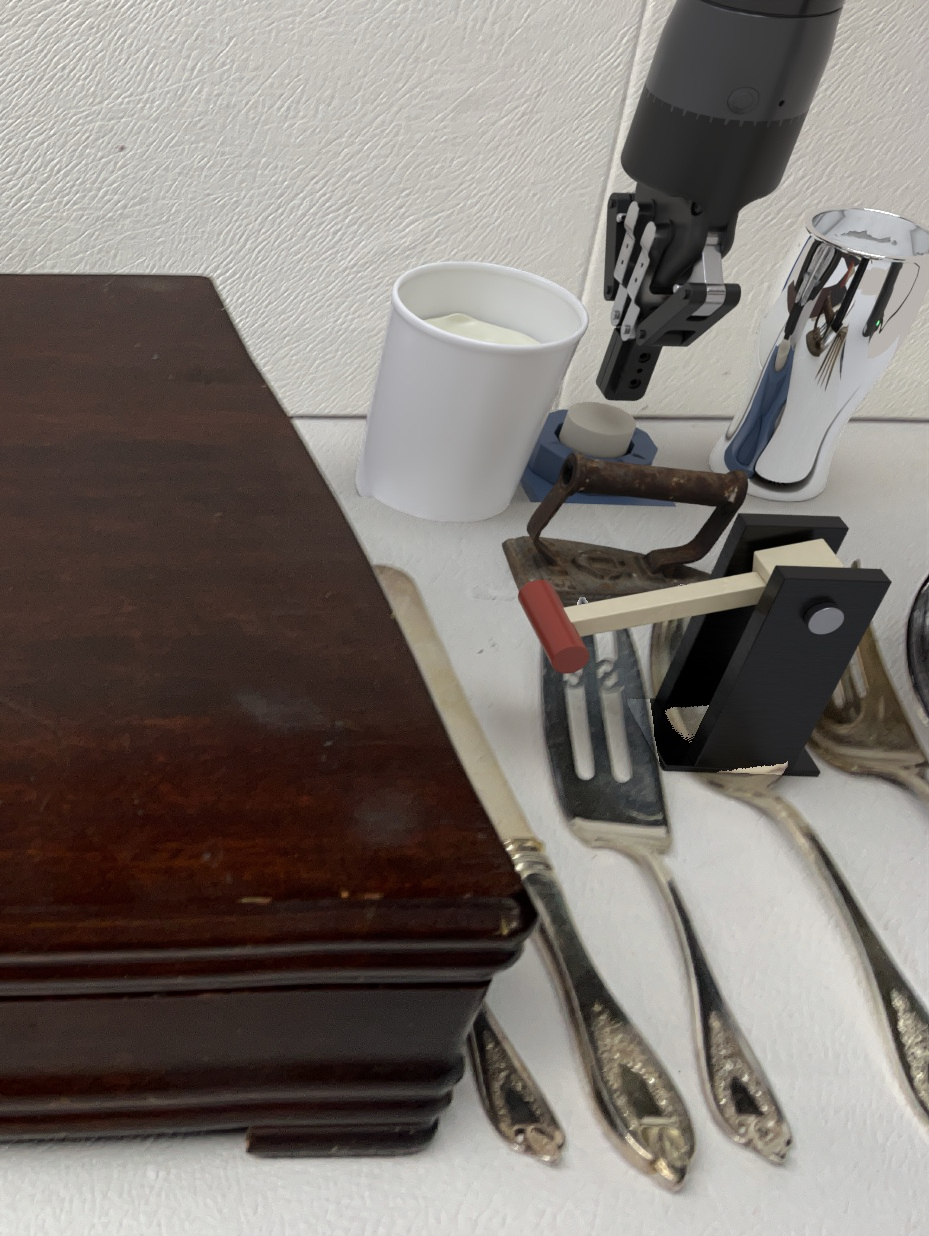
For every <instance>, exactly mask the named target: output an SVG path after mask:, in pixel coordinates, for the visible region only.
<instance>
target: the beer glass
mask: <svg viewBox="0 0 929 1236" xmlns="http://www.w3.org/2000/svg"><path fill="white" fill-rule="evenodd" d="M928 291H929V226H928V224H927V225H926V224H925V223H923V222H921V221H920V220H917V219H915V218H912V217H909V216H906V215H903V214H900V213H898V212H893V211H890V210H886V209H880V208H875V207H868V206H862V205H861V206H860V205H845V204H844V205H842V204H841V205H830V206H829V205H828V206H823V207H819V208H816V209H814V210H812V211H810V212H809V213H808V214H806V216H805V218H804V221H803V223H802V225H801V227H800V230H799V231H798V233H797V235H796V237H795V239H794V240H793V242H792V244H791V246H790V248H789V250H788V253H787V254H786V256H785V257H784V259H783V262H782V263H781V266H780V268H779V270H778V272H777V275H776V277H775V278H774V281H773V283H772V286H771V288H770V290H769V293H768V296H767V298H766V301H765V304H764V307H763V309H762V311H761V316H760V320H759V324H758V326H757V331H756V335H755V339H754V344H753V349H752V354H751V358H750V363H749V368H748V373H747V379H746V382H745V387H744V391H743V395H742V397H741V401H740V404H739V406H738V408H737V410H736V412H735V414H734V416H733V419H732V420H731V422H730V423H729V425H728V427H727V428H726V430H725V431H724V433H723V434H722V436H720V439H718V441H717V443H715V444H716V445H715V446H714V447H713V449H712V451H711V452H710V455H709V457H708V465H709V468H710V470H711V472H714V473H724V474H726V473H728V472H730V471H732V470H743V471H744V472H746V473H747V476H748V490H747V495H749V496H753V497H755V498H759V499H764V500H769V501H774V502H782V503H783V502H785V503H794V502H795V503H796V502H797V503H798V502H805V501H808V500H811V499H814V498H816V497H818V496H820V494H821V493H822V492H823V491H824V489H825V487H826V485H827V482H828V478H829V474H830V469H831V465H832V460H833V456H834V453H835V451H836V450H835V449H836V447H837V445H838V441H839V439H840V437H841V435H842V433H843V431H844V429H845V427H846V426H847V424H848V422H849V421H850V419H851V418H852V416H853V415H854V413H856V411H857V409H858V408H859V406H860V405H861V403H862V402H863V401H864V400H865V398H866V397H867V395H868V394H869V393H870V391H872V389H873V387H874V386H875V385H876V383H877V382H878V380H879V379H880V378H881V376H882V375H883V374H884V372H885V371H886V370H887V368H888V367H889V365H890V364H891V362H892V361H893V359H894V358H895V356H896V354H897V353H898V351H899V350H900V349H901V347H902V345H903V344H904V342H905V340H906V338H907V336H908V334H909V332H910V331H911V329H912V327H913V325H914V323H915V321H916V318H917V316H918V314H919V312H920V310H921V307H922V305H923V302H924V301H925V298H926V295H927V293H928Z"/></svg>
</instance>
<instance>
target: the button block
mask: <svg viewBox="0 0 929 1236" xmlns="http://www.w3.org/2000/svg"><path fill="white" fill-rule="evenodd" d="M568 410H569V409H564V408H563V409H558V410H557V409H556V410H554V411H550V413H549V415H548V417H547V420H546V422H545V424H544V427H543V429H542V431H541V434H540V436H539V438H538V441H537V443H536V445H535V448H534V450H533V452H532V455H531V457H530V459H529V462H528V464H527V466H526V469H525V471H524V473H523V475H522V478H521V480H520V482H519V484H520V485H521V487H522V489H523V491H524V492H525V494H526V496H527V498H528V499H529V501H530V503H541V502H542V501H543V500H544V498H545V497H546V496H547V494H548V493H549V492H550V490H551V489H552V488H553V486H554V485H555V483H556V482H557V480H558V479H559V473H560V470H561V467H562V465H563V463H564V461H565V459H566V457H567V456H568V455H569V454H571V453H573V452H575V451H573V450H572V449H570V448H568V447H567V446H565V445H563V444H562V443H561V442H560V440H559V435H560V432H561V429H562V426H563V424H564V421H565V418H566V415H567V413H568ZM658 450H659V449H658V447H657V445H656V443H655V442H654V441H653V439H652V438H651V436H650V435H649V433H648V432H646V431H644V430H642V429H641V428H639V427H637V426H636V428H635V431H634V433H633V436H632V438H631V441H630V443H629V446H628V449H627V451H626V453H625V454H624V455H623V456H622V457H619V458H595V457H592V456H588V455H585V454H583V455H584V456H585V457H586V458H589V459H597V460H604V461H613V462H624V463H633V464H641V465H650V466H653V465H652V464H653V463H654V460H655V458H656V455H657V453H658ZM575 453H577V452H575ZM563 504H572V505H573V504H576V505H603V506H604V505H605V506H607V505H608V506H635V507H636V506H637V507H638V506H639V507H665V508H667V507H669V508H677V505H676V504H675V502H670V501H660V500H651V499H644V498H634V497H624V496H613V495H599V494H588V493H575V494H574V495H573V496H569V497H568V498H567V499H566V501H565V502H564V503H563Z"/></svg>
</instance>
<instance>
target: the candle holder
mask: <svg viewBox="0 0 929 1236" xmlns="http://www.w3.org/2000/svg"><path fill="white" fill-rule="evenodd" d="M589 316H590V315H589V312H588V310H587V308H586V306H585V305H584V303H583V302H582V301H581V300H580V299H579V297H577V296H576V295H574V294H573V293H572V292H571V291H570V290H568V289H566V288H565V287H563V286H562V285H560V284H558V283H556V282H554V281H552V280H550V279H548V278H547V277H543V276H540V275H538V274H536V273H533V272H529V271H526V270H523V269H519V268H515V267H511V266H506V265H502V264H497V263H489V262H483V261H469V260H449V261H439V262H438V261H436V262H432V263H431V262H430V263H426V264H423V265H419V266H416V267H413V268H410V269H408V270H407V271H405V272H403V273H402V274H400V276H398V278H397V279H396V280H395V281H394V283H393V285H392V288H391V291H390V303H389V309H388V314H387V319H386V323H385V328H384V332H383V336H382V337H383V338H382V342H381V347H380V352H379V357H378V361H377V366H376V370H375V375H374V379H373V383H372V384H373V385H372V390H371V393H370V400H369V404H368V409H367V413H366V418H365V423H364V427H363V432H362V437H361V442H360V447H359V452H358V457H357V462H356V468H355V474H354V475H355V476H354V482H355V488H356V490H357V493H358V494H359V496H360V497H361V498H374V499H376V500H377V501H379V502H380V503H382V504H384V505H386V506H388V507H390V508H392V509H393V510H396V511H398V512H401V513H403V514H406V515H409V516H412V517H416V518H419V519H423V520H428V521H434V522H439V523H441V522H442V523H452V524H453V523H456V524H457V523H458V524H463V523H464V524H465V523H475V522H480V521H485V520H488V519H491V518H494V517H496V516H498V515H500V514H502V513H503V512H505V510H507V508H508V507H509V506H510V504H511V502H512V500H513V498H514V496H515V494H516V491H517V489H518V487H519V484H520V480H521V478H522V475H523V473H524V471H525V469H526V466H527V464H528V462H529V459H530V457H531V455H532V452H533V450H534V448H535V445H536V443H537V441H538V438H539V436H540V434H541V431H542V429H543V427H544V424H545V422H546V420H547V417H548V415H549V413H551V410H552V408H553V406H554V403H555V401H556V398H557V396H558V394H559V392H560V390H561V387H562V384H563V382H564V380H565V377H566V375H567V373H568V371H569V369H570V366H571V364H572V362H573V360H574V358H575V355H576V352H577V350H578V348H579V346H580V343H581V341H582V339H583V338H584V336H585V335H586V333H587V331H588V328H589V324H590V317H589Z"/></svg>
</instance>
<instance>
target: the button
mask: <svg viewBox="0 0 929 1236" xmlns="http://www.w3.org/2000/svg"><path fill="white" fill-rule="evenodd" d="M567 410H568V413H567V415H566V418H565V421H564V424H563V426H562V429H561V432H560V435H559V440H560V442H561V443H562V444H563V445H565V446H567V447H568V448H570V449H572V450H573V451H575V452H577V453H582V454H585V455H588V456H592V457H595V458H619V457H622V456H623V455H624V454H625V453H626V451H627V449H628V446H629V443H630V441H631V438H632V436H633V433H634V431H635V428H636V427H637V422H636V420H635V418H634V417H633V416H632V415H631V414H630V413H629V412H627V411H625V410H624V409H621V408H620V407H617V406H614V405H611V404H608V403H604V402H598V401H597V402H595V401H585V402H584V401H583V402H578V403H576V404H573V405H571V407H569V409H567Z"/></svg>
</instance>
